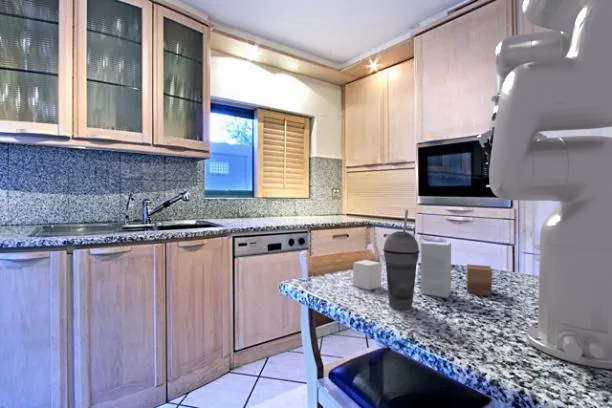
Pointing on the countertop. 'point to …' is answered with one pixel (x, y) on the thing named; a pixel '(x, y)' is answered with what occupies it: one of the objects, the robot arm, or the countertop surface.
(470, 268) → the walnut block
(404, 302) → the beverage cup
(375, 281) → the off-white block
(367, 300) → the countertop surface
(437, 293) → the skincare box
